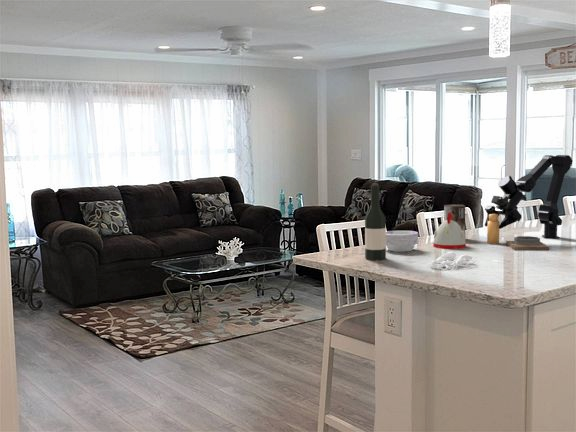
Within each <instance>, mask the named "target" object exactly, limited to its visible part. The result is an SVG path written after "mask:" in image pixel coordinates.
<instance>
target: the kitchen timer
mask: <svg viewBox="0 0 576 432" xmlns="http://www.w3.org/2000/svg"><path fill="white" fill-rule="evenodd" d="M432 243H433V245H432V246H433V248H438V249H442V250H443V249H445V250H447V249H448V250H456V249H457V250H459V249H464V248H466V247H467V246H466V245H467V243H466V233H465V234H464V231H462V229H461V227H460V226H459V225H458V224H457V223H456V222H455V221H453V220H452V215H451V213H448V217H447V220H446V221H444V220H443V222H442V223H441V224H440V225H439V226H438V227H437V229H436V230H434V234H433V242H432Z"/></svg>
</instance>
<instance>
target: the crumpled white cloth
mask: <svg viewBox="0 0 576 432" xmlns="http://www.w3.org/2000/svg"><path fill="white" fill-rule="evenodd" d="M443 253H444V254H442V255H440V256H439V257H438V258H436V259H434V260H432V261H429V262H428V266H430V267H431V268H434V269H436V270H437V269H438V271H439V270H443V271H446V270H447V271H449V270H448V269H450V270H451V269H452V268H456V267H464V268H465V267H468V266H469V265H471V264H475V262H476V261H475V260H474V259H473V257H472V256H471V255H469V254H462V255H459V257H458V258H457V254H456V253H455V252H454V251H448V252H443ZM456 258H457V259H456ZM470 261H472V262H470Z"/></svg>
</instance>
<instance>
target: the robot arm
mask: <svg viewBox="0 0 576 432" xmlns="http://www.w3.org/2000/svg"><path fill="white" fill-rule="evenodd" d="M572 165H573V159H572V157H571V156H570V155H568V154H557V155H552V154H551V155H548V154H547V155H546V154H545V155H544V156H542V159H540V161H539V162H538V163H537V164H535V166H534V167H533V168H532V169H531V170H530V171H529V173H527V174H525V175H523V176H521V177H520V178H518V179H517V180H516V181H515V180H514V179H513V177H512V176H511V175H506V176H505V177H502V178H501V179H500V180H499V181H498V182H497V185H498V187H499V188H500V189H501V191H502V192H503V194H505V195H503V196H499V195H493V196H492V198H491V201H490V203H491V204H494V205H486V207H485V208H484V210H485V212H486V213H487V215H486V219H485V222H484V226H485V227H487V222H488V221H489V214H498V217H499V216H500V215H501V216H504V217H503V219H502V221H500V225H499V230H501V229H503V228H505V227H507V226H509V225H512V224H514V223H517V222H520V221H521V219H522V218H523V217H522V214H521V213H520V211H518V208H519V207H518V205H519V203H520V202H521V201H523V202H524V201H527V194H524V193H531V192H532V191H533V189H534V188H535V187H536V185H537V181H538V180H539V178H540V177H541V176H542V175H543V174H544V173H545V172H547V170H548V169H549V168H550V167H551V168H552V171H553V174H552V178H551V182H550V184H549V189H548V191H547V192H548V193H547V196H546V199H545V202H544V203H543V204H542V203H540V204H539V208H538V211H537V217H538V219H539V224H540V225H543V227H544V229H543V235H541V237H542V238H544V239H560V236H558V226H561V225H562V224H563V220H562V218H561V217H560V216H559V208H558V202H559V201H558V200H559V197H560V194H561V190H562V186H563V183H564V178H565V175H566V174H567V173H568V172H569V171H570V169H571V167H572ZM506 195H507V196H506ZM495 205H496V207H495Z"/></svg>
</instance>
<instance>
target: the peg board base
mask: <svg viewBox="0 0 576 432" xmlns="http://www.w3.org/2000/svg"><path fill="white" fill-rule="evenodd" d="M505 241H506V242H505V243H506V244H505V245H506V246H508V247H509V248H511V249H512V250H514V251H550V250H549V249H550V246H549V245H547V244H545V243H543V242H541V238H540V237H538V236H530V235H529V236H525V235H524V236H521V235H519V236H515V237H514V239H513V240H505Z"/></svg>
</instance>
